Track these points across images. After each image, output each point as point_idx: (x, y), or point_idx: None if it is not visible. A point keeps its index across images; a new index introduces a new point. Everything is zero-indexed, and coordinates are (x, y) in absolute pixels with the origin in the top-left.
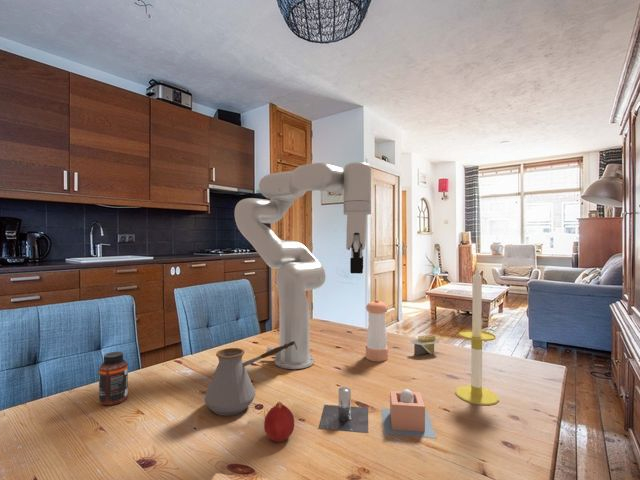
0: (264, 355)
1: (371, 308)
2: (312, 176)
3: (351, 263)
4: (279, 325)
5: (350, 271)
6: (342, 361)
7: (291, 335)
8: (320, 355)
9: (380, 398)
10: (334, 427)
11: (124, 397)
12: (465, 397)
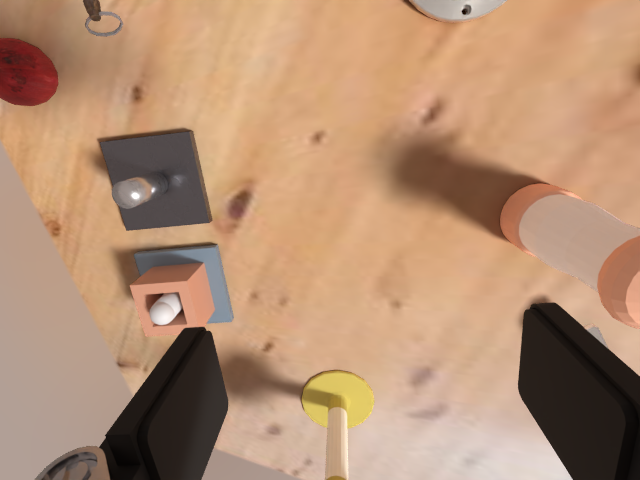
0: None
1: (619, 262)
2: None
3: (145, 393)
4: None
5: (182, 332)
6: (490, 116)
7: None
8: (543, 24)
9: (276, 239)
10: (116, 171)
11: None
12: (318, 383)
